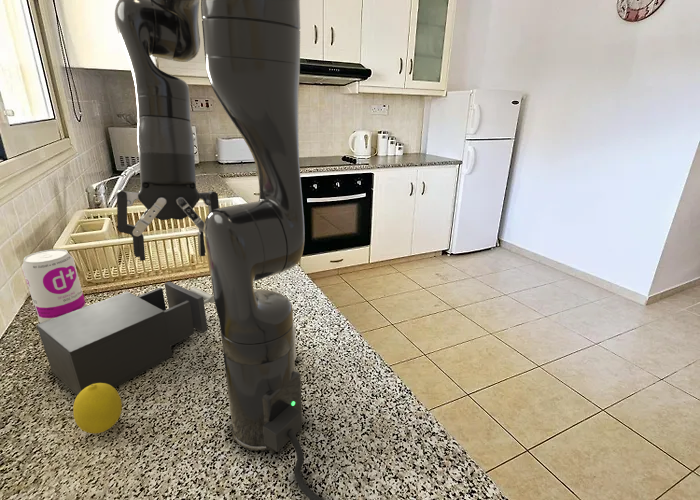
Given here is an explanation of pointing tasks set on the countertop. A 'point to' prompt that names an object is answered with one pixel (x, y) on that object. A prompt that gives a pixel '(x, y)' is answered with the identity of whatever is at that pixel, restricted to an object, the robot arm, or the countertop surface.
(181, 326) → the fryer drawer
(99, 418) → the lemon
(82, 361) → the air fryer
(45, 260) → the supplement can
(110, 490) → the countertop surface
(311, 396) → the countertop surface
